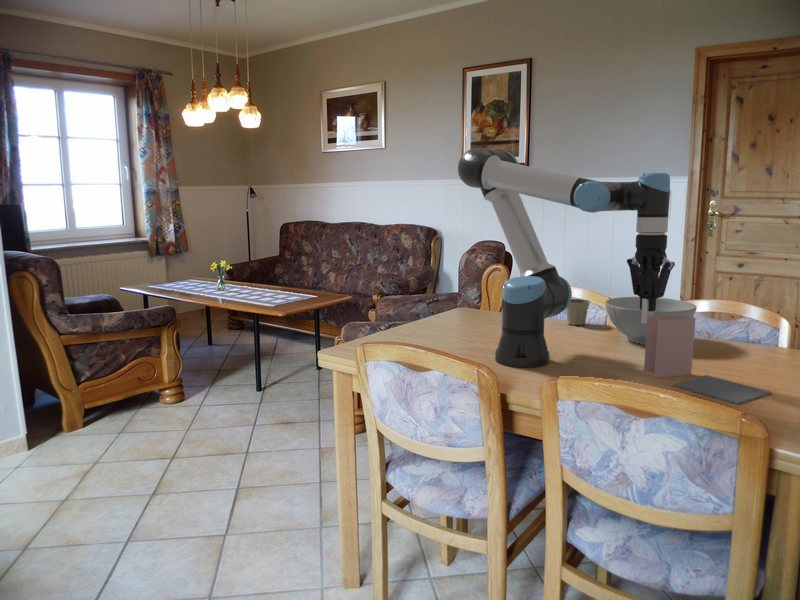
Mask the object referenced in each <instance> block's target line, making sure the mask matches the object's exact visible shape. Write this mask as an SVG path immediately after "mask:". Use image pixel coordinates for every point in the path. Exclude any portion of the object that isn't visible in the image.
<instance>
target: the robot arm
mask: <svg viewBox="0 0 800 600" xmlns="http://www.w3.org/2000/svg"><path fill="white" fill-rule="evenodd" d="M457 173H458V176H459V179H460V180H461V182H463V184H465V185H467V186H468V187H471V188H475V189H480V191H481V194H482V195H483V198H484V200H485V201H488V202H489V203H491V205H492V208H493V209H494V212H495V215H496V217H497V219H498V221H499V224H500V227H501V229H502V231H503V234H504V236H505V239H506V241H507V244H508V247H509V248H510V251H511V254H512V256H513V258H514V261H515V264H516V266H517V268H518V270H519V272H520V275H519V276H514V277H511V278H509V279H507V280H506V281H505V282H504V283H503V286H502V292H501V298H502V299H501V300H502V303H501V304H502V305H501V306H502V307H501V309H502V310H501V315H502V316H501V334H500V339H499V342H498V344H497V348H496V349H495V352H494V353H495V355H494V359H495V361H496V362H497V363H498V362H499V364H501V365H504V366H508V367H515V368H537V367H543V366H546V365H548V364H550V357H551V356H550V351H549V350H548V345H547V341H546V338H545V320H546V319H548V318H551V317H555V316H557V315H560V314H561V313H562V312H564V311H566V308H567V307H568V306H569V304H570V301H571V299H573V298H572V296H573V295H572V294H573V293H572V288H571V285H570V282H568V280H567V279H565V278H564V277H562V276H560V274H559V272H558V270H557V267H556V265H553V264H550V263H549V262H548V260H547V257H546V255H545V253H544V250H543V248H542V245H541V244H540V243H541V242H540V241H539V238H538V236H537V233H536V231H535V228H534V227H533V224H532V221H531V219H530V217H529V215H528V211H527V209H526V207H525V205H524V202H523V200H522V198H521V196H520V194H521V195H525V196H529V197H533V198H537V199H542V200H545V201H550V202H553V203H558V204H562V205H566V206H570V207H573V208H574V207H575V208H578V209H579V210H581V211H583V212H585V213H586V212H587V213H591V214H592V213H599V212H612V211H613V212H614V211H616V212H619V211H621V212H622V211H636V226H635V227H636V230H635V231H636V232H637V234H636V236H635V248H636V252H635V253H634V256H633V257H631V258H627V259H626V263H627V265H628V268H629V273H630V279H631V285H632V292H633V295H635V296H637V297H640V310H642V317H641V323H645V324H647V315H653V311H655V310H656V299H657V298H664V296H665V292H666V288H667V285H668V282H669V278H670V274H671V271H672V270H673V269H674V267H675V265H676V263H675V262H674V261H670V260H669V259H668V258H667V257H668V256H667V253H666V250H667V247H668V246H667V245H668V235H667V234H666V233H667V232H668V229H669V211H670V197H671V192H672V191H671V176H670V174H668V173H667V172H648V173H647V172H646V173H641V174H639V176H638V179H637V181H599V180H593V179H589V178H585V177H579V176H575V175H571V174H565V173H560V172H557V171H551V170H547V169H541V168H538V167H533V166H528V165H523V164H520V163H519V161H518V159H517V158H516V157H515V155H513V154H512V153H511V152H509V151H507V150H503V149H500V148H494V149H490V148H486V147H485V148H482V147H474V148H470V149H468V150H467V151H465V152H464V153H463V154H462V155H461V157H460V159H459V160H458V163H457ZM661 267H662V268H661Z"/></svg>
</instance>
